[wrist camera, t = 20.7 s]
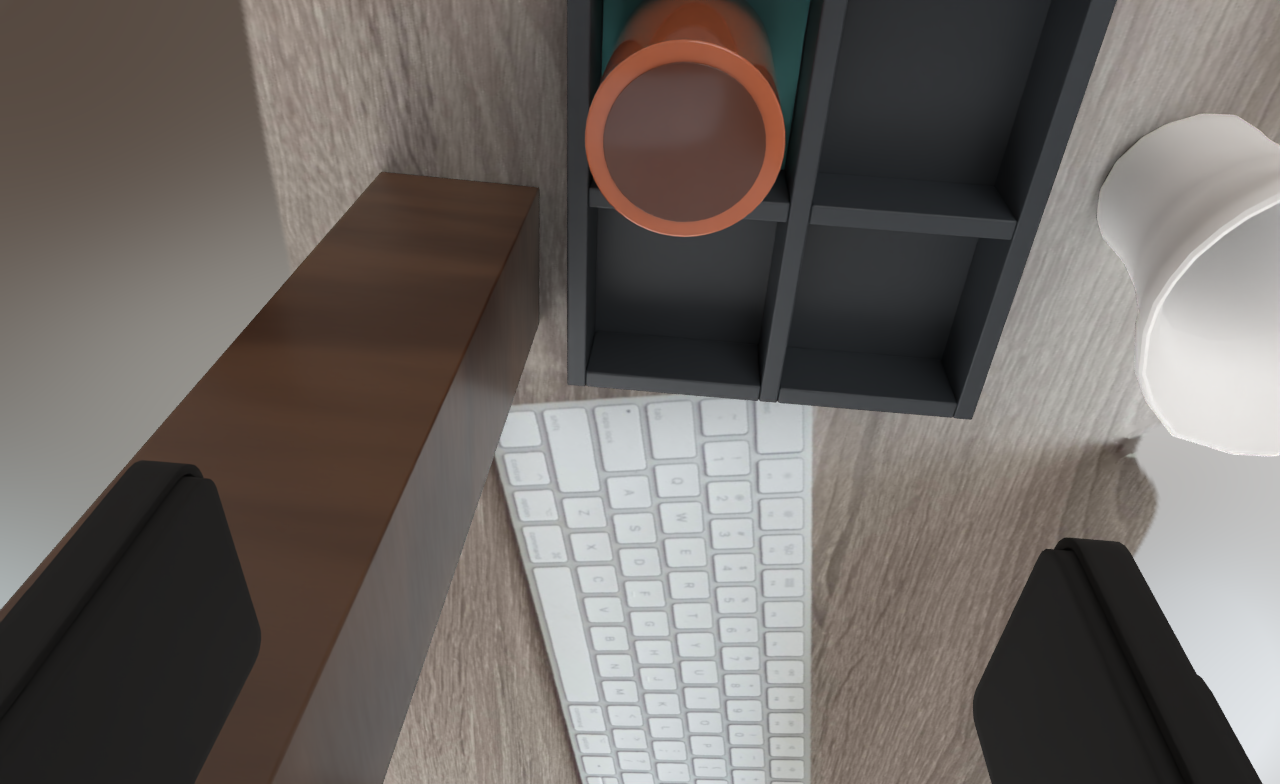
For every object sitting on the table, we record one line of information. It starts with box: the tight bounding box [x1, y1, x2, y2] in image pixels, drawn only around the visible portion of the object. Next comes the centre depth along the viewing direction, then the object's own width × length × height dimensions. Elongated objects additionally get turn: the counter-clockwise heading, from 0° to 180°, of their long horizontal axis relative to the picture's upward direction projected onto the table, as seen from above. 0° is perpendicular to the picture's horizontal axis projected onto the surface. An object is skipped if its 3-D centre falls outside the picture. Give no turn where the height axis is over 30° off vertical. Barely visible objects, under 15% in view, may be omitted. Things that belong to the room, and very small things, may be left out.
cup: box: [1096, 113, 1280, 457], centre depth 26 cm, size 9×9×10 cm
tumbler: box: [585, 0, 786, 237], centre depth 25 cm, size 5×5×8 cm
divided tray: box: [567, 0, 1117, 420], centre depth 30 cm, size 15×15×4 cm
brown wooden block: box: [0, 172, 539, 784], centre depth 24 cm, size 6×6×24 cm
